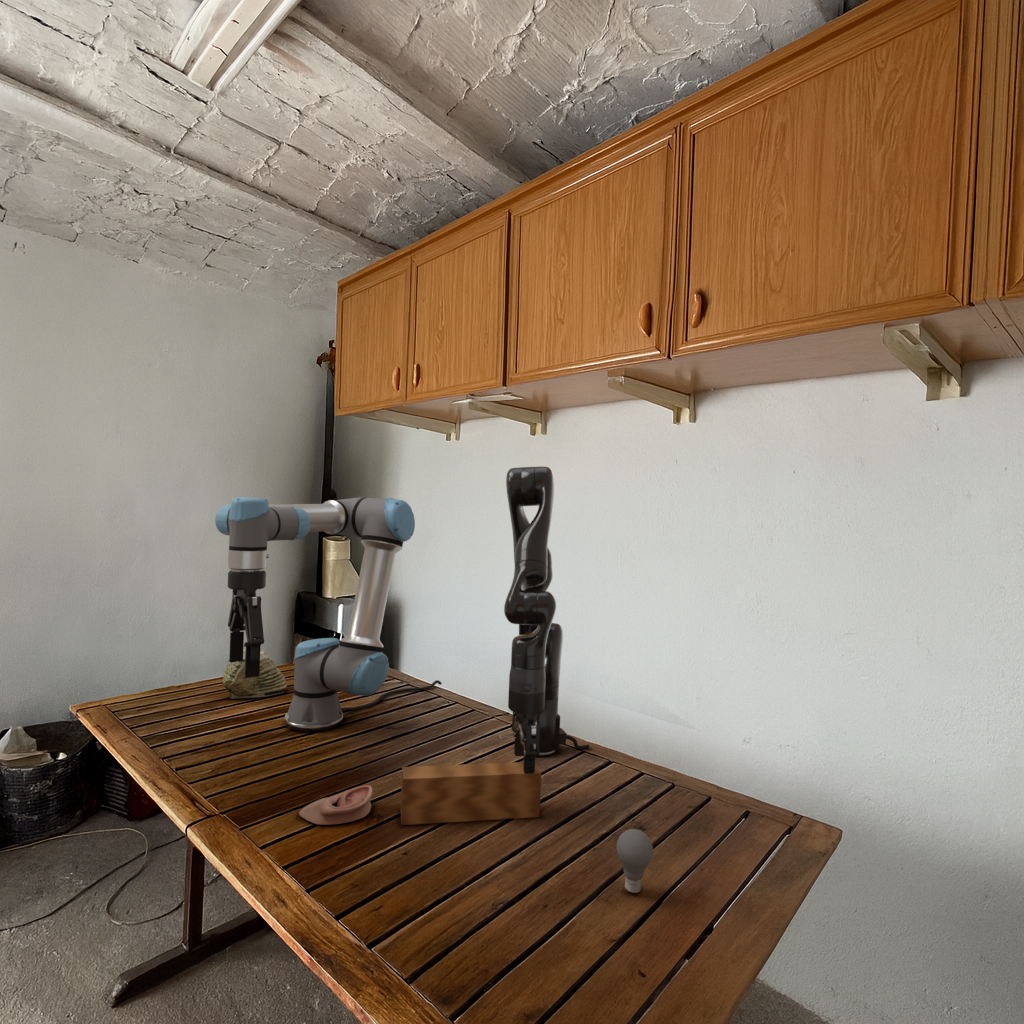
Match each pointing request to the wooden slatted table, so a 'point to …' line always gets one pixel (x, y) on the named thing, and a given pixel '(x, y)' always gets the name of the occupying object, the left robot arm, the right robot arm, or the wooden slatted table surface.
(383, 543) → the left robot arm
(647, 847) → the light bulb
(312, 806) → the anatomical model
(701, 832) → the wooden slatted table surface
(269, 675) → the fossil
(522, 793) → the bar
